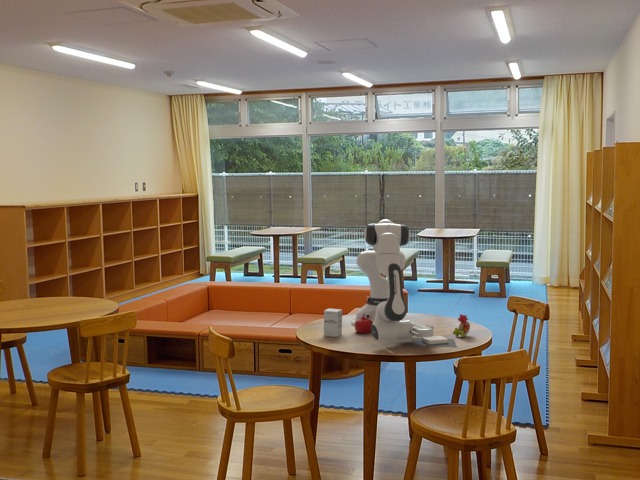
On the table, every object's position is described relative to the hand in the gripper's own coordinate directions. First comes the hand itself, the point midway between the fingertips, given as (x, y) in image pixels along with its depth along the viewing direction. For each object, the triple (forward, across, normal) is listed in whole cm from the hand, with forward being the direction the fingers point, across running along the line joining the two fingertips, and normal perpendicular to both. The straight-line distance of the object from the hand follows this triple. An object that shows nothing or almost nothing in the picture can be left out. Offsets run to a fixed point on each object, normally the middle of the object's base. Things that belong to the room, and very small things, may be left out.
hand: (432, 327), depth 307 cm
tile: (-4, 0, +6) cm, 7 cm away
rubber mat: (+1, 0, +8) cm, 8 cm away
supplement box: (-38, +31, +8) cm, 49 cm away
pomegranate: (-21, +32, +8) cm, 39 cm away
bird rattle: (+21, +9, +8) cm, 24 cm away
